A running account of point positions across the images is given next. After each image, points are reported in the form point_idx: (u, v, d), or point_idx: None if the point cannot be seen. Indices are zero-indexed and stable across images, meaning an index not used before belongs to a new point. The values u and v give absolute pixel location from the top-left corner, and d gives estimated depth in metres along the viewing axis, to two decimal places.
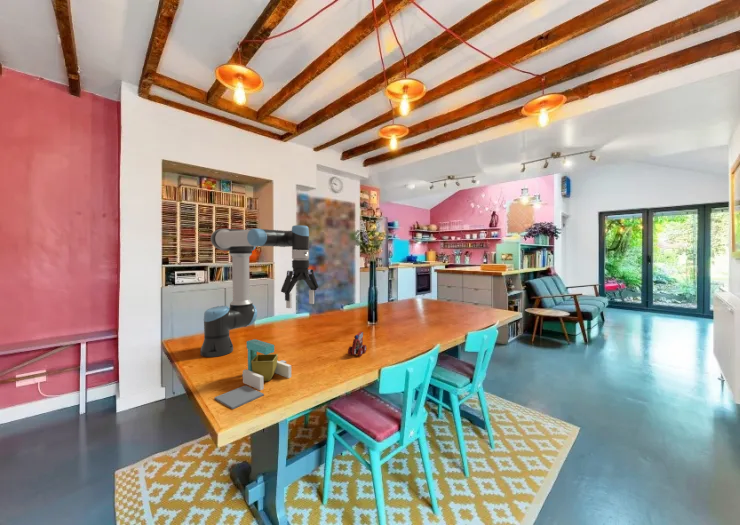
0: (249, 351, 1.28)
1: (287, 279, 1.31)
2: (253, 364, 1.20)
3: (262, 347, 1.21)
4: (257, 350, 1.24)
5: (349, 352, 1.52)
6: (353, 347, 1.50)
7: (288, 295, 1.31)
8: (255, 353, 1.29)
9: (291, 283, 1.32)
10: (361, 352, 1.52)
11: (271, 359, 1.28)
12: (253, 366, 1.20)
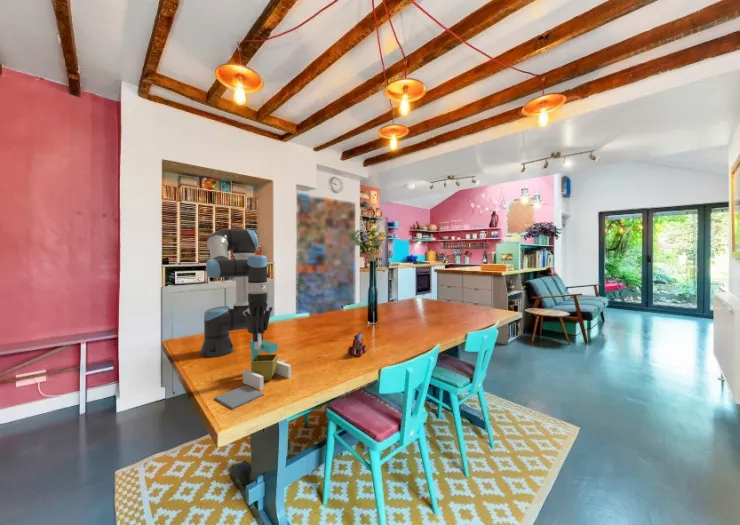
0: (252, 350, 1.29)
1: (247, 320, 1.20)
2: (253, 364, 1.20)
3: (266, 346, 1.23)
4: (260, 349, 1.25)
5: (349, 352, 1.52)
6: (353, 347, 1.50)
7: (256, 336, 1.23)
8: (258, 352, 1.31)
9: (254, 322, 1.23)
10: (361, 352, 1.52)
11: (271, 359, 1.28)
12: (253, 366, 1.20)
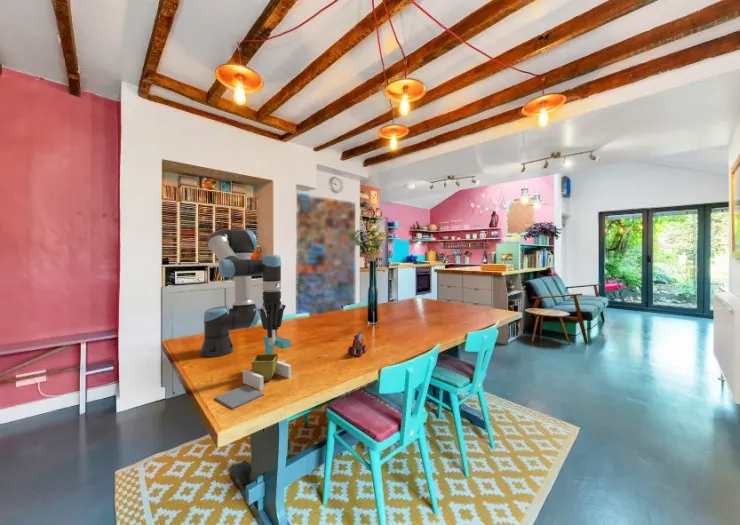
0: (266, 346, 1.35)
1: (262, 317, 1.26)
2: (253, 364, 1.20)
3: (280, 342, 1.28)
4: None
5: (349, 352, 1.52)
6: (353, 347, 1.50)
7: (270, 332, 1.29)
8: (272, 348, 1.36)
9: (268, 319, 1.28)
10: (361, 352, 1.52)
11: (271, 359, 1.28)
12: (253, 366, 1.20)
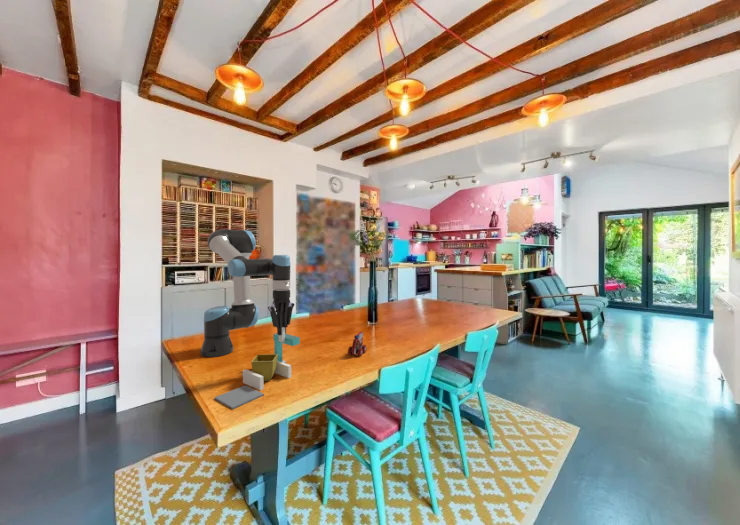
0: (276, 343, 1.39)
1: (272, 315, 1.30)
2: (253, 364, 1.20)
3: (289, 339, 1.32)
4: (284, 342, 1.35)
5: (349, 352, 1.52)
6: (353, 347, 1.50)
7: (280, 329, 1.33)
8: (281, 345, 1.41)
9: (278, 317, 1.32)
10: (361, 352, 1.52)
11: (271, 359, 1.28)
12: (253, 366, 1.20)
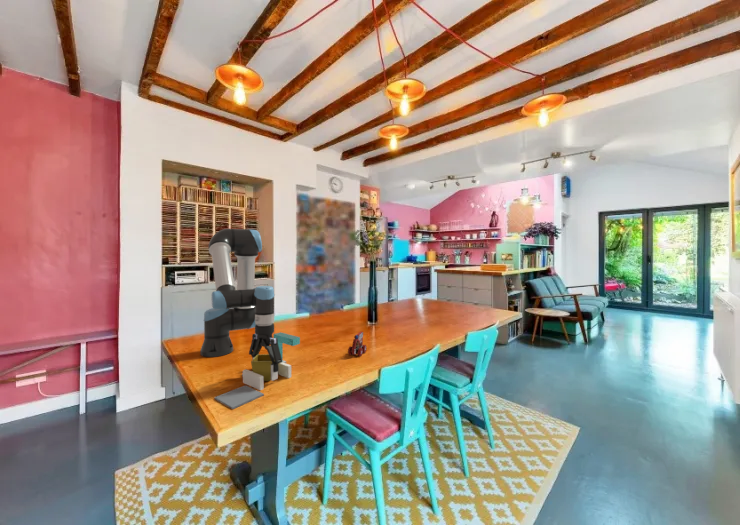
0: None
1: None
2: (253, 364, 1.19)
3: (289, 339, 1.33)
4: (284, 342, 1.35)
5: (349, 352, 1.52)
6: (353, 347, 1.50)
7: None
8: (281, 345, 1.41)
9: None
10: (361, 352, 1.52)
11: None
12: (253, 366, 1.20)
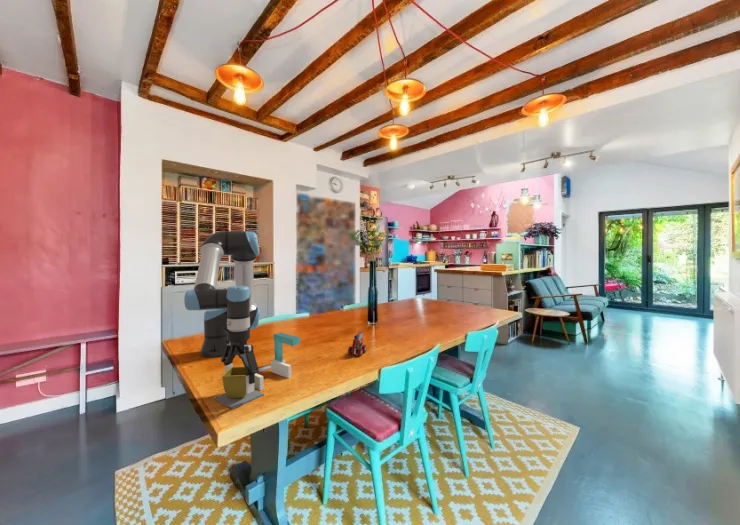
0: (276, 343, 1.39)
1: None
2: (224, 379, 1.04)
3: (289, 339, 1.33)
4: (284, 342, 1.35)
5: (349, 352, 1.52)
6: (353, 347, 1.50)
7: None
8: (281, 345, 1.41)
9: None
10: (361, 352, 1.52)
11: None
12: (224, 381, 1.04)
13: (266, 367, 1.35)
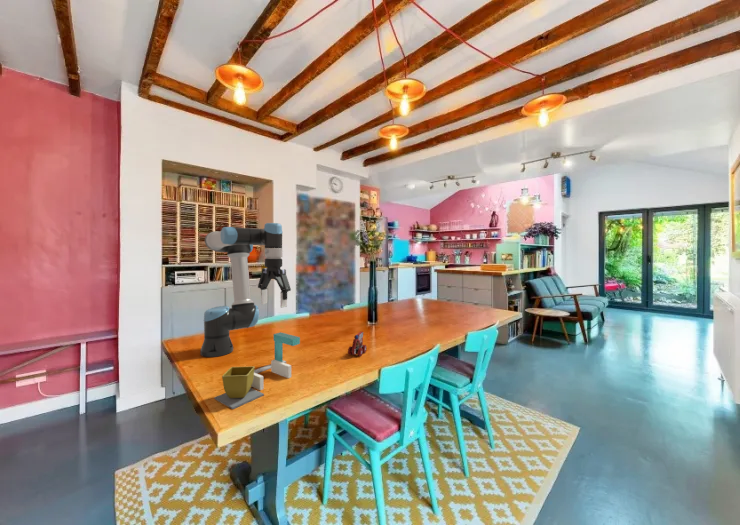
0: (276, 343, 1.39)
1: None
2: (224, 379, 1.04)
3: (289, 339, 1.33)
4: (284, 342, 1.35)
5: (349, 352, 1.52)
6: (353, 347, 1.50)
7: None
8: (281, 345, 1.41)
9: None
10: (361, 352, 1.52)
11: (247, 372, 1.13)
12: (224, 381, 1.04)
13: (266, 367, 1.35)
